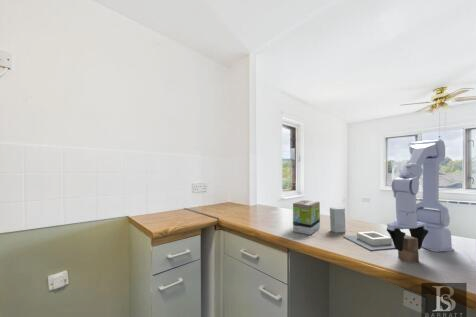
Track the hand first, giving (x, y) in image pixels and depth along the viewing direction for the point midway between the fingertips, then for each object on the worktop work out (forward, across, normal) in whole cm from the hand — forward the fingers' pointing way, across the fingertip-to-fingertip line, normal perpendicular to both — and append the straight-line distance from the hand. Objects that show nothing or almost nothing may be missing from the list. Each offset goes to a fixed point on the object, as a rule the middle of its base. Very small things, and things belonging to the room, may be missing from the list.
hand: (407, 249), depth 72 cm
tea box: (+4, +18, -39) cm, 43 cm away
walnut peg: (+4, 0, 0) cm, 4 cm away
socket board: (+4, -2, -17) cm, 17 cm away
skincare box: (+4, +4, -33) cm, 33 cm away
